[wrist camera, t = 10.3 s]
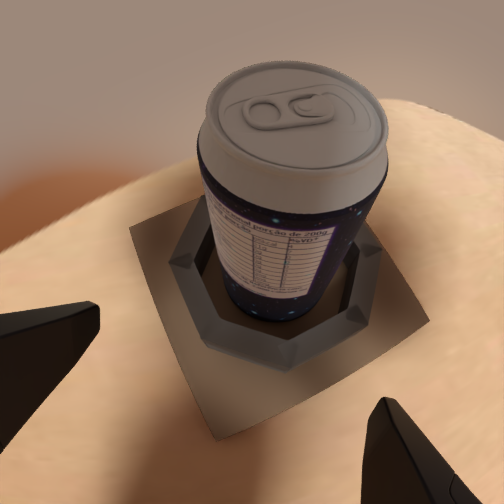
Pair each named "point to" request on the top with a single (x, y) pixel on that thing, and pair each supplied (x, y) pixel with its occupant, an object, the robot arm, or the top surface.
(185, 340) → the can holder
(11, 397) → the robot arm
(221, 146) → the beverage can
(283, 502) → the top surface
